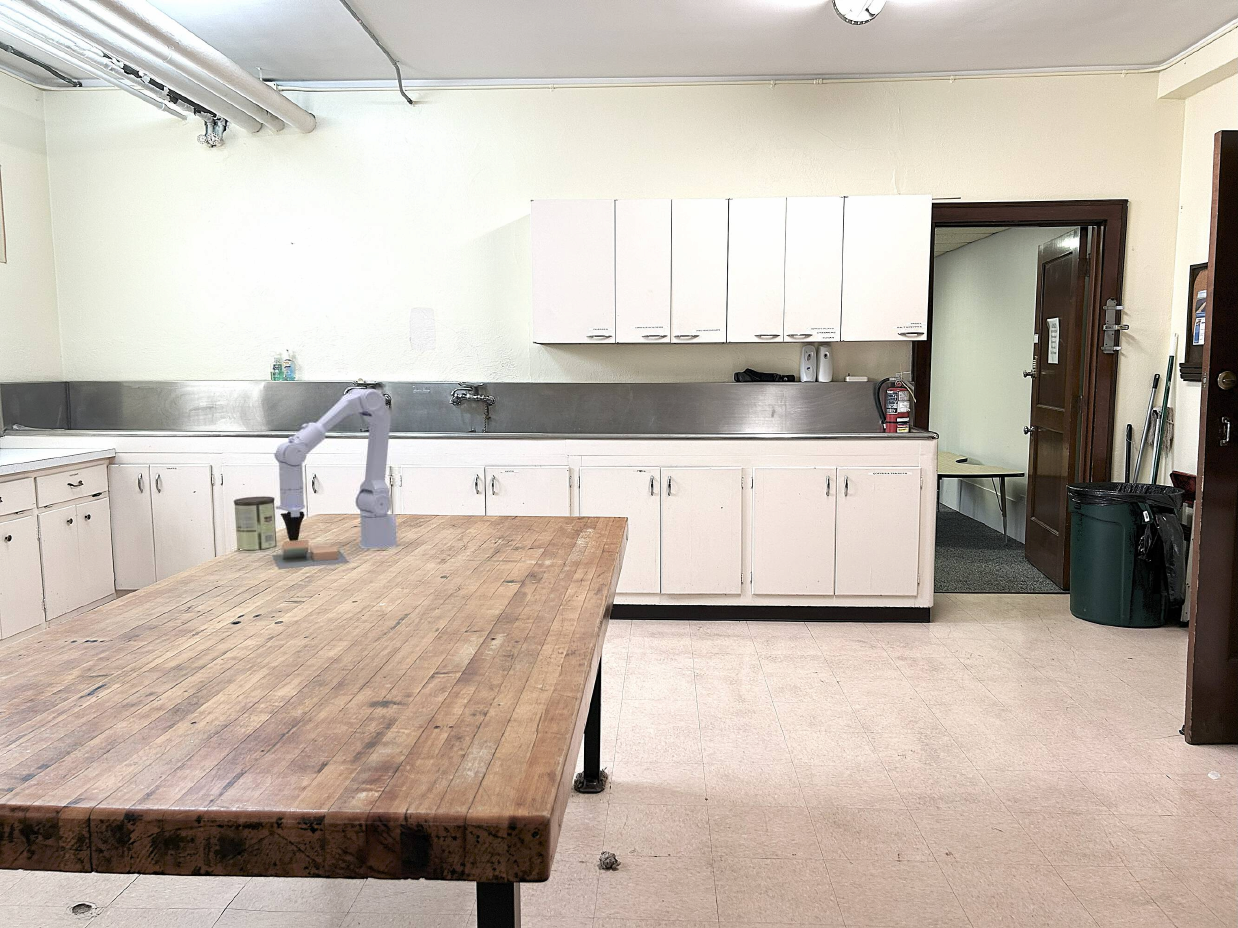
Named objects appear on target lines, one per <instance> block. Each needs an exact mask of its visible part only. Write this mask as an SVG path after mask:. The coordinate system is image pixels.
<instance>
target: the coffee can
mask: <svg viewBox="0 0 1238 928" xmlns="http://www.w3.org/2000/svg"><path fill="white" fill-rule="evenodd" d="M275 499H276V498H275V497H273V496H264V495H263V496H262V495H261V496H248V497H241V498H236V499H234V500H233V504H234V518H235V519H234V520H235V521H234V522H235V534H236V547H237V548H236V549H237V552H240V553H246V554H247V553H265V552H269V551H273V550H276V549H278V545H277V543H278V542H277V531H276V530H277V527H276V514H275V513H276V512H275V510H276V507H275ZM240 549H242V550H240ZM238 550H240V551H238Z"/></svg>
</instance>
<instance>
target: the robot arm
mask: <svg viewBox="0 0 1238 928" xmlns="http://www.w3.org/2000/svg"><path fill="white" fill-rule="evenodd" d="M351 414H359V415H361V416H362V417H363V418H364V419H365V420H366V422H368V424H369V428H368V440H367V453H366V462H365V463H366V464H365V471H364V472H365V475H364V480H363V481H362V482H361V484H360V486H359V491H358V493H357V494H356V497H355V506H356V508H357V509H358V510H359V512H360V513H359V514H360V542H358V543H357V545H358V546H359V547H360V548H361V549H362V550H368V549H369V550H370V549H381V548H392V547H398V544H397V541H398V540H397V539H398V538H397V520H396V515H395V514H392V513H390V514H389V511H390V510H391V507H392V499H391V496H390V488H389V486H388V485H387V482H386V475H387V474H386V471H387V462H388V461H387V460H388V451H389V442H390V441H389V440H390V430H391V429H390V428H391V417H390V412H389V410H388V408H387V404H386V397H385V396H384V395H383V394H382V393H381V392H380V391H379V390H377V389H374V388H367V389H366V388H359V387H358V388H353V389H351V390H349V391H348V393H346V394H344V395H343V396H342V397H340V400H339V401H338V402H336V403H335V404H334V405H333V406H332V408H330V409H329V410H328V411H327V412H326V413H325V414H324V415H323V416H321V418H320V419H318V421H317V422H309V423H303V424H302V425H301V429H300V430H298V432H296V433H295V434H294V435H293V436H289V437H288V438H287V439H288V440H287V441H288V442H287V441H286V442H282V443H280V444H279V445H278V446H277V448H276V450H275V453H274V454H273V456H274V458H275V460H276V461H277V462H278V472H279V473H278V474H279V475H278V477H279V498H280V499H279V501H280V505H276V506H275V510H281V511H285V512H283V513H280V516H281V518H282V520H283V523H284V524H285V525H284V526H285V529H286V533H287V538H288V541H296V540H299V537H300V533H301V532H300V531H301V525H302V523H303V520H304V518H305V515H306V514H305V512H304V511H302V510H303V509H305V508H306V507H305V505H306V504H305V502H304V501H305V500H304V499H305V498H304V475H303V472H304V471H303V463H304V462H305V461H306V460H307V455H308V454H309V453H310V452H311V451H313V450H314V449H315V448H316V447H317V446H319V444H321V443H322V442H323V441H324V440H325V439H326V434H327V431H329V430H330V429H332V427H334V426H336V425H337V424H338V423H340V421H342V420H343V419H344V418H345V417H347V416H348V415H351Z"/></svg>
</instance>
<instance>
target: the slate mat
mask: <svg viewBox="0 0 1238 928" xmlns="http://www.w3.org/2000/svg"><path fill="white" fill-rule="evenodd" d="M337 550H338V559H334V560H323V561H314V560H313V558H312V557H311V554H310V551H308V552H307V556H306V557H297V558H285V559H283V558H282V553H281V554H280V553H279V554H272V555H271V556H272V558H273V561H274V563H275V564H276V567H277V569H278V570H287V569H297V568H307V567H308V568H309V567H320V566H329V565H330V566H332V565H339V564H340V565H341V564H342V565H343V564H350V563H351V562H350V561H349V559H347V557H346V556H345V555H344V553H342V551H341V550H340V549H337Z"/></svg>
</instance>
